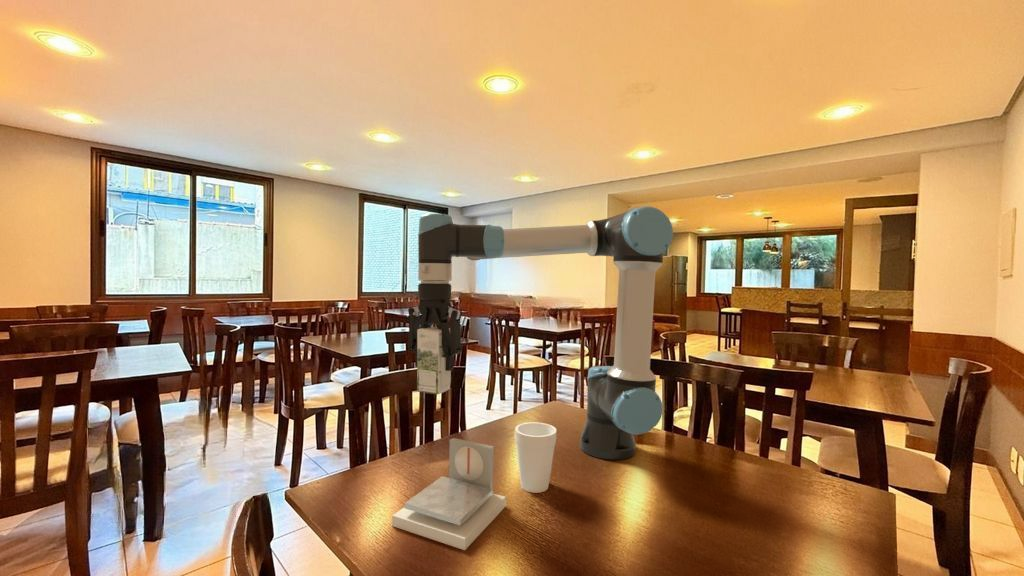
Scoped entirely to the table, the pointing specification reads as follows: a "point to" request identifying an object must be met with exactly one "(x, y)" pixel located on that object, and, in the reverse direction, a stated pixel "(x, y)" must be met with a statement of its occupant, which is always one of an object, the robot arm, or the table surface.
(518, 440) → the foam cup
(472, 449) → the scale base
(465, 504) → the scale pan
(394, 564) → the table surface
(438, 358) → the syrup box
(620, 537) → the table surface
